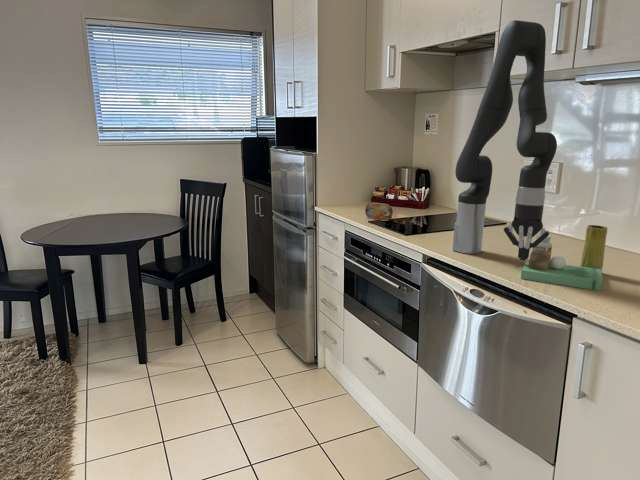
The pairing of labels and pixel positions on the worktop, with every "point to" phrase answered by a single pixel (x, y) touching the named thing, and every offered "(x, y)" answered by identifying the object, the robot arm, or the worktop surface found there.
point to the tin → (379, 211)
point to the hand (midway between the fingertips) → (522, 259)
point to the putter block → (539, 260)
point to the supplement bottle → (544, 244)
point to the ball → (557, 262)
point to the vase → (594, 247)
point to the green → (566, 276)
